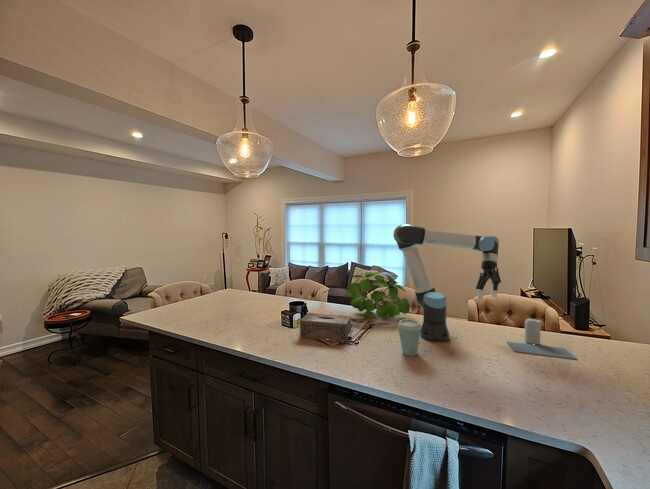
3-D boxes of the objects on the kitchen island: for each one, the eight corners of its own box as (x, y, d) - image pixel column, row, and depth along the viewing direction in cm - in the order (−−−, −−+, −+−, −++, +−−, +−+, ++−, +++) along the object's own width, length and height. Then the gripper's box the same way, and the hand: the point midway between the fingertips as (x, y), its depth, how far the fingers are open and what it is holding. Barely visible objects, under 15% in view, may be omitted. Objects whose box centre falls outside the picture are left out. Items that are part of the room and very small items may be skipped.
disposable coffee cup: (422, 359, 122) (422, 326, 121) (398, 357, 124) (398, 324, 123) (419, 349, 132) (419, 319, 132) (396, 347, 134) (396, 317, 134)
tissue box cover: (300, 338, 148) (300, 320, 148) (308, 329, 162) (308, 312, 161) (346, 342, 141) (346, 324, 141) (351, 333, 155) (351, 315, 155)
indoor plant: (397, 296, 214) (406, 265, 199) (406, 337, 178) (419, 303, 163) (342, 289, 215) (348, 257, 200) (341, 329, 179) (347, 294, 164)
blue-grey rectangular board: (514, 351, 129) (514, 350, 129) (506, 342, 140) (506, 341, 140) (577, 359, 120) (577, 358, 120) (564, 349, 131) (564, 348, 131)
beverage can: (525, 344, 138) (526, 320, 137) (523, 339, 143) (524, 317, 143) (541, 346, 135) (542, 322, 134) (538, 341, 140) (539, 319, 140)
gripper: (510, 257, 140) (508, 297, 133) (484, 270, 163) (481, 304, 156) (495, 253, 141) (492, 292, 134) (471, 266, 164) (468, 300, 157)
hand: (486, 299), depth 145 cm, fingers open, 13 cm apart
